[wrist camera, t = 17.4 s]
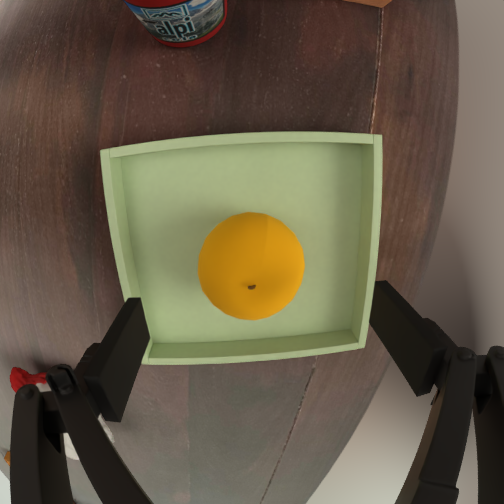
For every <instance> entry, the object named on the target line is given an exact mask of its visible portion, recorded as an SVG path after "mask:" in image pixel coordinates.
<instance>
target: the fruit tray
mask: <svg viewBox="0 0 504 504" xmlns="http://www.w3.org/2000/svg"><path fill="white" fill-rule="evenodd" d="M100 157H101V167H102V177H103V186H104V194H105V201H106V208H107V215H108V222H109V228H110V234H111V239H112V245H113V250H114V255H115V261H116V265H117V270H118V275H119V279H120V284H121V288H122V292H123V297H124V301H125V302H126V300H127V299H128V298H131V297H141V301H142V305H143V309H144V314H145V318H146V322H147V326H148V330H149V334H150V337H151V338H150V341H149V343H148V346H147V349H146V351H145V354H144V357H143V359H142V364H153V365H181V364H217V363H236V362H251V361H264V360H275V359H286V358H295V357H304V356H312V355H320V354H327V353H334V352H341V351H348V350H354V349H359V348H364V347H365V343H366V337H367V331H368V325H369V318H370V311H371V305H372V298H373V290H374V283H375V275H376V266H377V257H378V246H379V233H380V218H381V198H382V135H378V134H364V133H345V132H306V131H292V132H252V133H233V134H218V135H206V136H195V137H185V138H176V139H167V140H159V141H152V142H145V143H138V144H132V145H126V146H120V147H114V148H109V149H103V150H100ZM245 212H255V213H264V214H267V215H269V216H272V217H274V218H276V219H278V220H280V221H282V222H283V223H284V224H285V225H286V226H287V227H288V228H289V229H290V230H291V231H293V232H294V234H295V236H296V237H297V239H298V241H299V243H300V245H301V246H302V249H303V254H304V262H305V269H304V274H303V279H302V283H301V285H300V287H299V289H298V291H297V293H296V295H295V296H294V298H293V300H292V301H291V302H290V303H289V304H287V305H286V306H285V307H284V308H283V309H282V310H281V311H279V312H277V313H275V314H274V315H272V316H270V317H268V318H263V319H259V320H255V321H254V320H243V319H238V318H235V317H232V316H230V315H227V314H225V313H223V312H222V311H221V310H219V309H218V308H217V307H215V306H214V305H213V304H212V303H211V302H210V300H209V299H208V298H207V296H206V295H205V294H204V292H203V291H202V288H201V285H200V281H199V277H198V260H199V253H200V251H201V248H202V246H203V243H204V241H205V239H206V237H207V236H208V234H209V233H210V232H211V231H212V230H213V229H214V228H215V227H216V226H217V225H218V224H219V223H221V222H222V221H224V220H226V219H227V218H229V217H231V216H233V215H237V214H241V213H245Z"/></svg>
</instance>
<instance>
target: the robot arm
mask: <svg viewBox="0 0 504 504" xmlns="http://www.w3.org/2000/svg"><path fill="white" fill-rule="evenodd" d="M369 323H370V325H371V326H372V328H373V329H374V331H375V332H376V334H377V335H378V337H379V338H380V340H381V341H382V343H383V344H384V346H385V347H386V349H387V350H388V352H389V353H390V355H391V356H392V358H393V360H394V361H395V363H396V364H397V366H398V367H399V369H400V370H401V372H402V374H403V375H404V377H405V378H406V380H407V382H408V383H409V385H410V386H411V388H412V389H413V391H414V393H415V394H416V396H421V395H424V394H427V393H430V391H431V389H432V387H433V384H435V385H436V387H437V388H438V389H437V391H436V394H435V396H434V398H433V400H432V402H431V405H432V408H431V411H430V415H429V418H428V421H427V425H426V428H425V431H424V434H423V436H422V439H421V442H420V445H419V448H418V451H417V453H416V456H415V459H414V461H413V464H412V466H411V468H410V471H409V473H408V476H407V478H406V480H405V483H404V485H403V487H402V489H401V492H400V494H399V496H398V498H397V500H396V502H395V504H456V501H457V498H458V494H459V489H458V488H456V482H457V479H458V475H459V471H460V468H461V463H462V460H463V455H464V451H465V446H466V442H467V436H468V431H469V426H470V419H471V413H472V409H473V417H474V425H475V434H476V445H477V460H478V504H504V347H501V346H493V347H491V348H490V349H489V351H488V354H487V355H478V356H477V355H476V354H475V353H474V352H473V351H472V350H471V349H468V348H465V347H457V346H456V344H455V343H454V342H453V341H452V340H451V339H450V338H449V337H448V336H447V335H446V334H445V333H444V331H443V330H442V329H440V327H439V326H438V325H437V324H436V323H435V322H434V321H432V320H430V319H428V318H422V317H421V316H420V315H419V314H418V313H417V312H416V311H415V310H414V309H413V308H412V306H411V305H410V304H409V303H408V302H407V301H406V300H405V299H404V298H403V297H402V296H401V295H400V294H399V293H398V292H397V291H396V290H395V289H394V288H393V287H392V286H391V285H390V284H389V283H388V282H387V281H386V280H384V281H375V283H374V290H373V298H372V305H371V311H370V318H369ZM150 338H151V337H150V334H149V330H148V326H147V322H146V318H145V314H144V309H143V305H142V301H141V297H131V298H128V299H127V300H126V302H125V304H124V305H123V307H122V308H121V310H120V312H119V313H118V315H117V317H116V318H115V320H114V322H113V323H112V325H111V327H110V328H109V330H108V332H107V333H106V335H105V337H104V338H103V340H102V342H101V343H93V344H92V345H91V346H90V347H89V348H87V350H86V351H85V353H84V355H83V357H82V358H81V360H80V362H79V363H78V365H77V366H76V368H75V370H74V372H73V370H72V368H71V367H70V366H69V365H66V364H60V365H56V366H54V367H52V368H50V369H49V370H48V371H47V373H46V375H45V379H46V381H47V383H48V385H49V387H50V389H51V391H45V392H40V390H39V388H38V387H37V386H36V385H34V384H26V385H23V386H22V387H20V388H19V389H18V390H17V392H16V394H15V400H14V408H13V418H12V429H11V445H10V491H11V504H74V502H73V497H72V492H71V487H70V481H69V475H68V468H67V461H66V453H65V444H64V434H63V433H68V435H69V437H70V439H71V442H72V444H73V446H74V449H75V451H76V453H77V455H78V457H79V459H80V462H81V464H82V466H83V468H84V470H85V472H86V474H87V476H88V478H89V480H90V481H91V483H92V485H93V487H94V489H95V491H96V493H97V494H98V496H99V498H100V500H101V501H102V503H103V504H154V503H153V502H152V501H151V500H150V498H149V497H148V496H147V494H146V493H145V492H144V490H143V489H142V488H141V486H140V485H139V483H138V482H137V481H136V479H135V478H134V476H133V475H132V474H131V472H130V471H129V469H128V468H127V466H126V465H125V463H124V462H123V460H122V458H121V457H120V455H119V454H118V452H117V451H116V449H115V447H114V446H113V444H112V442H111V441H110V439H109V437H108V436H107V434H106V432H105V430H104V429H103V427H102V425H101V423H100V421H99V420H98V418H99V415H100V413H101V414H102V416H103V417H104V419H105V421H112V422H121V419H122V416H123V413H124V410H125V407H126V404H127V401H128V398H129V395H130V393H131V390H132V387H133V384H134V381H135V378H136V376H137V373H138V370H139V367H140V365H141V362H142V359H143V357H144V354H145V351H146V349H147V346H148V343H149V341H150Z"/></svg>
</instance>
